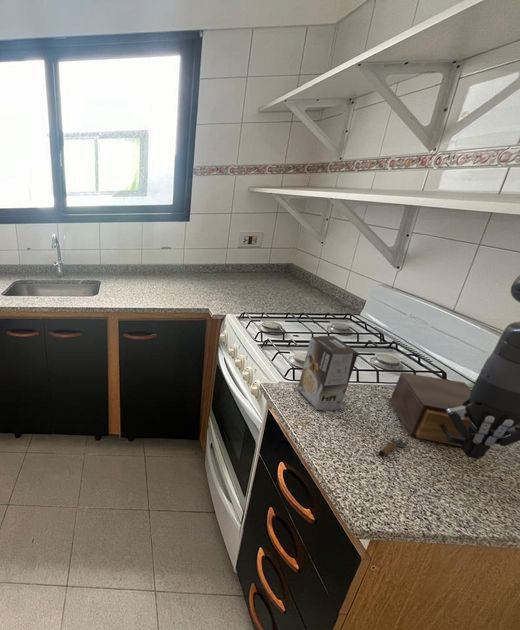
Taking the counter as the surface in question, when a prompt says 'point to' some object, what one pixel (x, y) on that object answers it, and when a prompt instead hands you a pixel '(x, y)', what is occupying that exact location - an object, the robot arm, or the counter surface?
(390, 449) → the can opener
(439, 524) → the counter surface
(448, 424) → the drawer
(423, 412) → the cabinet
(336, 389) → the coffee box
